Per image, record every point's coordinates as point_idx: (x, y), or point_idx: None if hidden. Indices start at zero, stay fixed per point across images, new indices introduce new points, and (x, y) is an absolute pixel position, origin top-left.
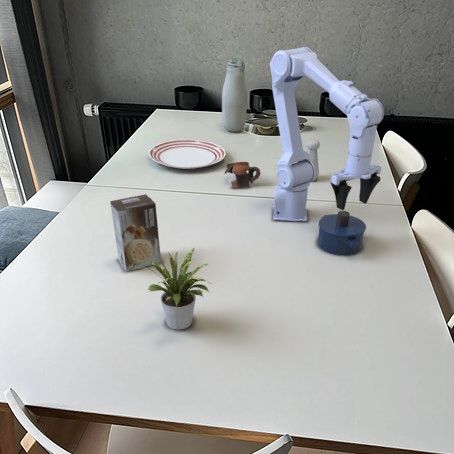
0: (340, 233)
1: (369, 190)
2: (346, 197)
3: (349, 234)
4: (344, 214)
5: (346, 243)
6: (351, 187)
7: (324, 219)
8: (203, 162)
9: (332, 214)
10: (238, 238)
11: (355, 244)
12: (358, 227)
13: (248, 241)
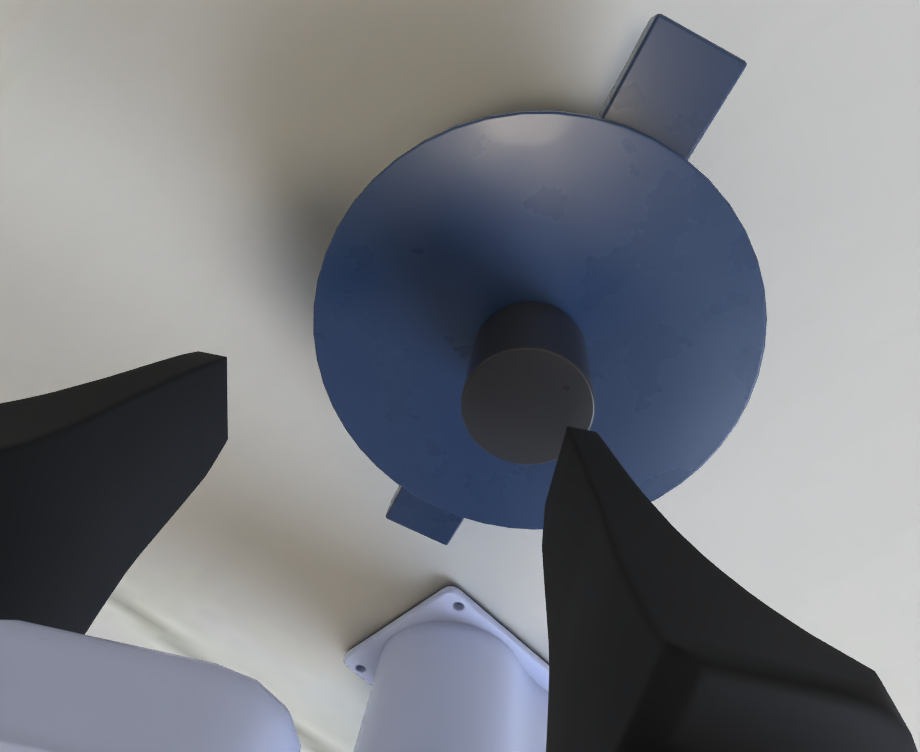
0: (716, 249)
1: (89, 424)
2: (619, 524)
3: (671, 171)
4: (548, 388)
5: None
6: (684, 650)
7: None
8: None
9: (441, 505)
10: (905, 701)
11: (710, 42)
12: (464, 209)
13: (903, 656)
